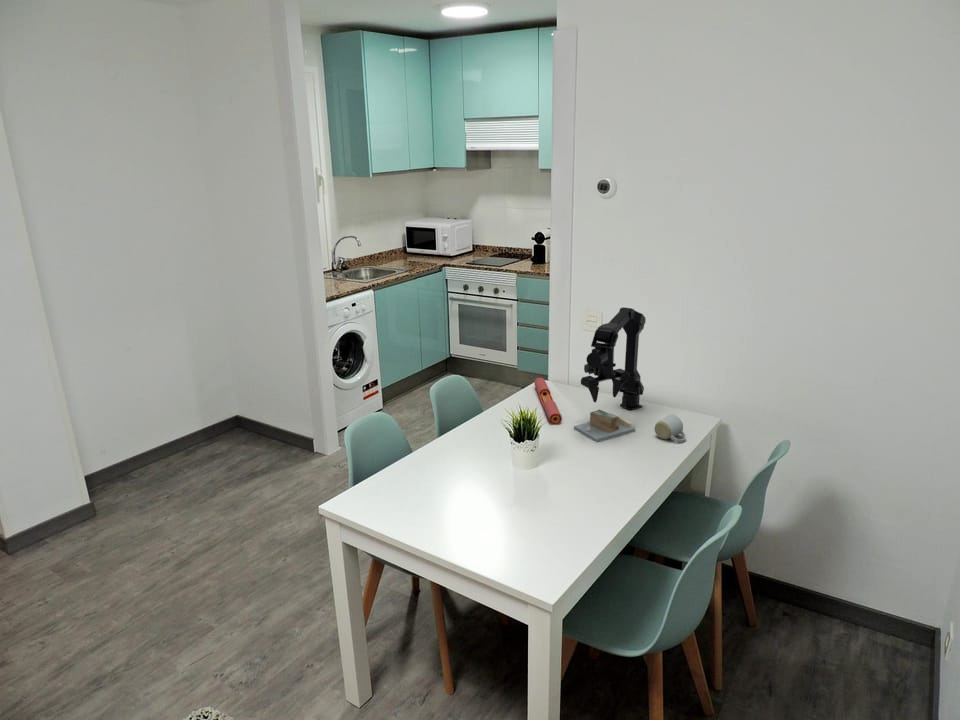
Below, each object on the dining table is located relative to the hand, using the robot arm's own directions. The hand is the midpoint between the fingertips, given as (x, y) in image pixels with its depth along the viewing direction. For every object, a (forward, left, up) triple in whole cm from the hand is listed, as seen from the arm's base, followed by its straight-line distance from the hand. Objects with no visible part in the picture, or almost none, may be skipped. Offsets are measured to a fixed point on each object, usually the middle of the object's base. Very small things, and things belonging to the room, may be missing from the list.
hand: (604, 399), depth 247 cm
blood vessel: (+5, -32, -12) cm, 34 cm away
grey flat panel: (+1, +2, -12) cm, 12 cm away
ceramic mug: (-16, +20, -12) cm, 28 cm away
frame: (+1, +1, -11) cm, 11 cm away
